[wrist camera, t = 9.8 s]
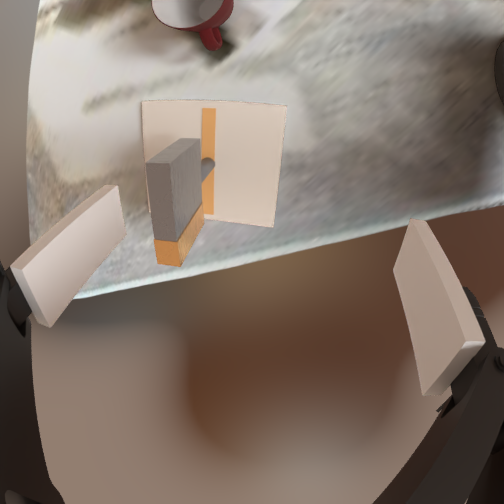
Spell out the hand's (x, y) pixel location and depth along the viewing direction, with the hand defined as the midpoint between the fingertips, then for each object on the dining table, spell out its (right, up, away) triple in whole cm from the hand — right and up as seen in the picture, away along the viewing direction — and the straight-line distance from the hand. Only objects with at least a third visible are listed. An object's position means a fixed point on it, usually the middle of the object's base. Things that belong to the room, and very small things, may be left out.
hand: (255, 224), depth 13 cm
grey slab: (-7, +7, +22) cm, 25 cm away
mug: (-5, +29, +17) cm, 34 cm away
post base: (-6, +12, +29) cm, 32 cm away
